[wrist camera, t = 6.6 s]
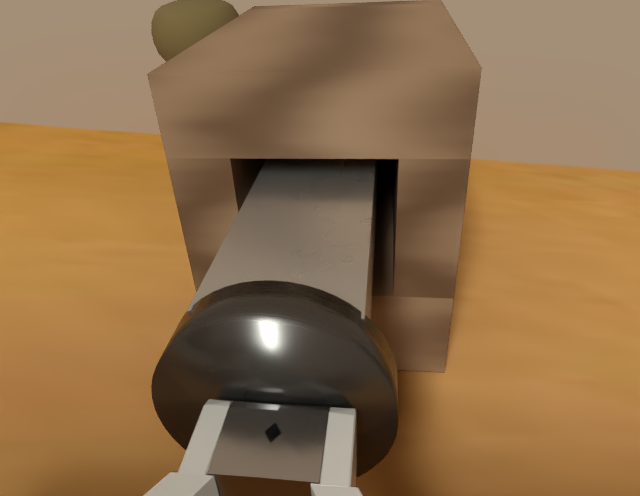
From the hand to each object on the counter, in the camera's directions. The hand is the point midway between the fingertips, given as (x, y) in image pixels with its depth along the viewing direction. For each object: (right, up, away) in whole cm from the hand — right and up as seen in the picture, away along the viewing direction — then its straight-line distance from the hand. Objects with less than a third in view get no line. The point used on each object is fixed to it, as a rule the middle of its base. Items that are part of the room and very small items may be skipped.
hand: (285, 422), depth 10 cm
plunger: (+1, +2, +7) cm, 7 cm away
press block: (+2, +2, +14) cm, 14 cm away
